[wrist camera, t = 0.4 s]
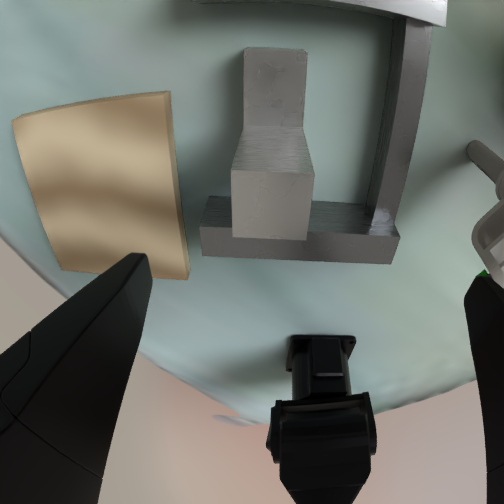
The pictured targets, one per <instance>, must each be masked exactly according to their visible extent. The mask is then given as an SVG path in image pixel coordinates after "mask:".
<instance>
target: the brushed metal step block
mask: <svg viewBox="0 0 504 504" xmlns="http://www.w3.org/2000/svg"><path fill="white" fill-rule="evenodd" d="M307 55H308V52H306V51H305V50H303V49H290V48H269V47H247V48H246V49H244V126H243V129H242V132H241V136H240V139H239V143H238V146H237V150H236V153H235V157H234V160H233V164H232V168H231V199H232V232H233V237H242V238H264V239H285V240H306V239H307V231H308V224H309V216H310V209H311V201H312V193H313V185H314V176H315V173H314V169H313V165H312V161H311V157H310V153H309V149H308V146H307V142H306V138H305V134H304V130H303V118H304V104H305V89H306V73H307Z"/></svg>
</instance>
